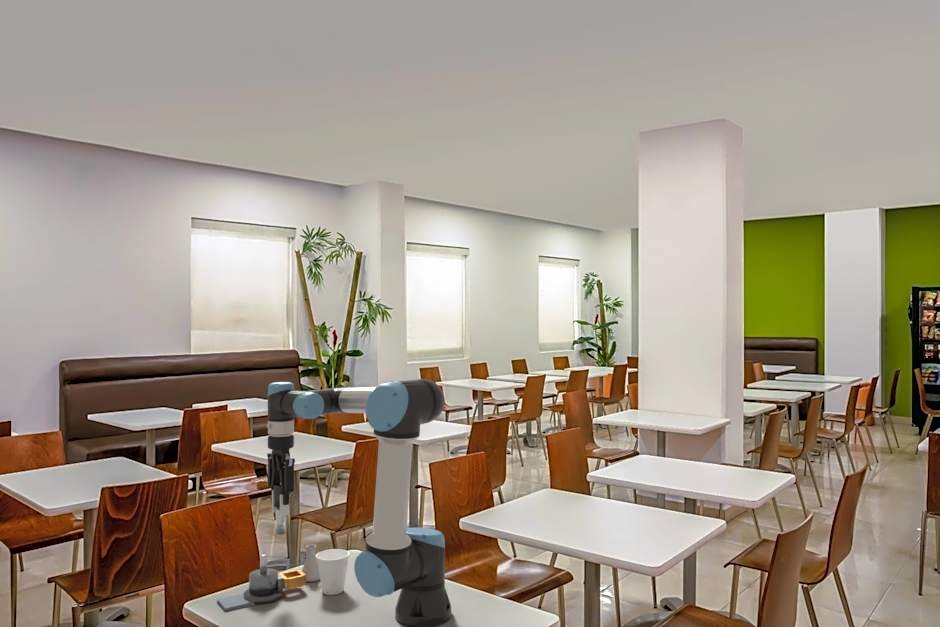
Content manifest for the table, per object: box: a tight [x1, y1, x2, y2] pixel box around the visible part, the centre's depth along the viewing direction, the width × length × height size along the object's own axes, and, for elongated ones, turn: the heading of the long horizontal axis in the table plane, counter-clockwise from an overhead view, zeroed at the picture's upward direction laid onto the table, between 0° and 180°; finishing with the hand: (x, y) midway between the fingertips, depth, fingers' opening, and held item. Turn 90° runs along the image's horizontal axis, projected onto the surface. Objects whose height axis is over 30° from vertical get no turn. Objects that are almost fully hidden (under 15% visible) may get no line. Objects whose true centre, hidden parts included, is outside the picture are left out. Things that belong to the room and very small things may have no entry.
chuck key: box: [273, 483, 287, 535], centre depth 208 cm, size 4×4×14 cm
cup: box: [316, 548, 351, 596], centre depth 208 cm, size 10×10×11 cm
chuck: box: [248, 553, 307, 596], centre depth 206 cm, size 16×8×10 cm, turn 124°
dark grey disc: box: [243, 588, 284, 605], centre depth 204 cm, size 11×11×2 cm
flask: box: [301, 544, 321, 583], centre depth 219 cm, size 7×7×10 cm
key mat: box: [216, 592, 255, 612], centre depth 199 cm, size 8×8×1 cm
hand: (280, 513), depth 208 cm, fingers closed on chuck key, 5 cm apart
